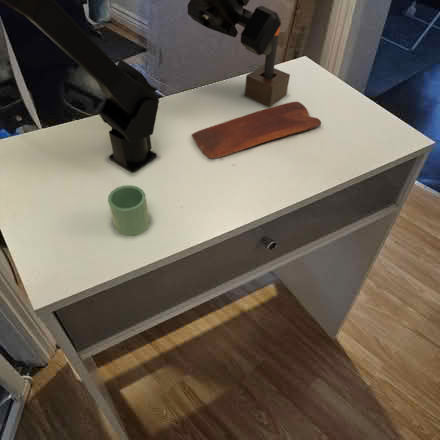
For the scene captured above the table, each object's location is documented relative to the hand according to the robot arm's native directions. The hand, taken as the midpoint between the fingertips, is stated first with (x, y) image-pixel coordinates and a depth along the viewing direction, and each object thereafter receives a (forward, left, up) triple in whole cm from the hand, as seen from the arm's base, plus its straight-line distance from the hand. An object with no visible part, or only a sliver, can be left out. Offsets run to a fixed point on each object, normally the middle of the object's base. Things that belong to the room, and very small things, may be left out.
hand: (252, 43), depth 75 cm
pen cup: (-41, -7, -12) cm, 44 cm away
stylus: (+6, -1, -12) cm, 14 cm away
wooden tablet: (-7, -7, -12) cm, 16 cm away
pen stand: (+6, -1, -12) cm, 14 cm away
